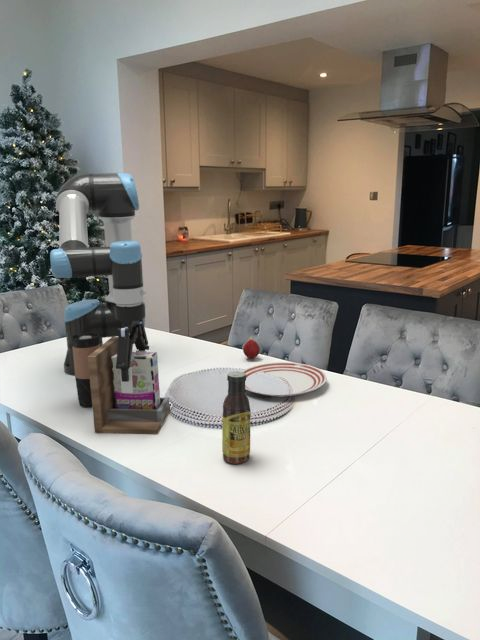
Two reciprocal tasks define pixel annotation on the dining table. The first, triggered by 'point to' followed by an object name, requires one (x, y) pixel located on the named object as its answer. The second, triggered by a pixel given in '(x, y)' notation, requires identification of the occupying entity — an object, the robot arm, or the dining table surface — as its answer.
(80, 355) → the travel mug
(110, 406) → the brown wooden l-shaped stand
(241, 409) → the sauce bottle
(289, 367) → the dinner plate
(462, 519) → the dining table surface
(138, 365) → the candy bar box
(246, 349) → the red rounded piece
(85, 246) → the robot arm
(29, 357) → the dining table surface
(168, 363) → the dining table surface
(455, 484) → the dining table surface
